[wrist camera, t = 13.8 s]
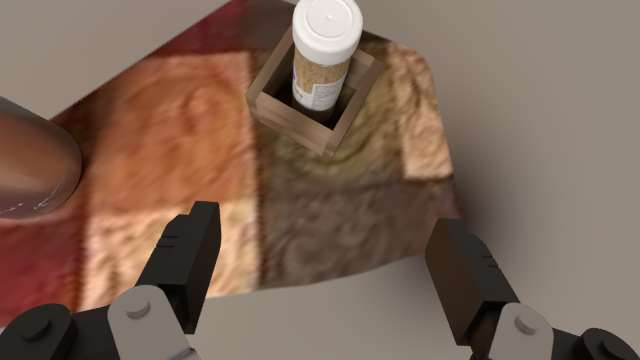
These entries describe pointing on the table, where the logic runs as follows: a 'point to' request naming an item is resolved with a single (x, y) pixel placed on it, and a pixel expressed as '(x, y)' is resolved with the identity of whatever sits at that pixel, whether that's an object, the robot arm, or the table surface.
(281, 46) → the open square sleeve
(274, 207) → the table surface
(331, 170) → the table surface
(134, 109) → the table surface
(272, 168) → the table surface
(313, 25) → the sprinkles bottle
